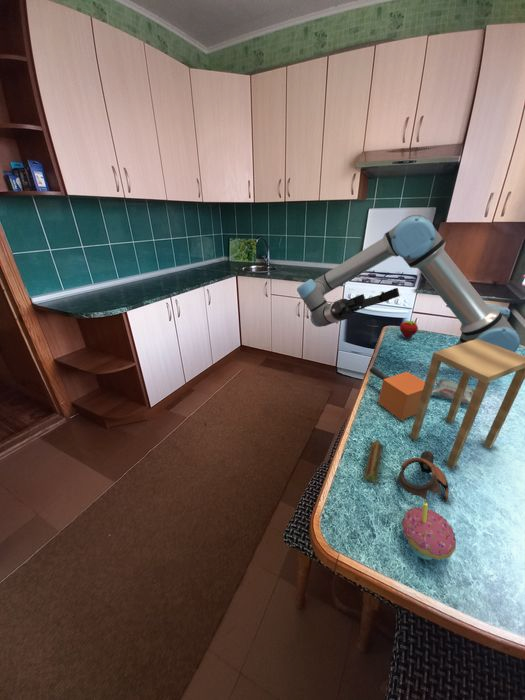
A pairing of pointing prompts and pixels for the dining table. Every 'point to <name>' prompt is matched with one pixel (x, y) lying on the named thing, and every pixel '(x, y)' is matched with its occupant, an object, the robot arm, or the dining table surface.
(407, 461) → the rusty ring bracket
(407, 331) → the strawberry
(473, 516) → the dining table surface
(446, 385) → the packaged food
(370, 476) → the chocolate bar
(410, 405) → the orange handled block
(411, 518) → the cupcake
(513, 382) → the wooden stool
